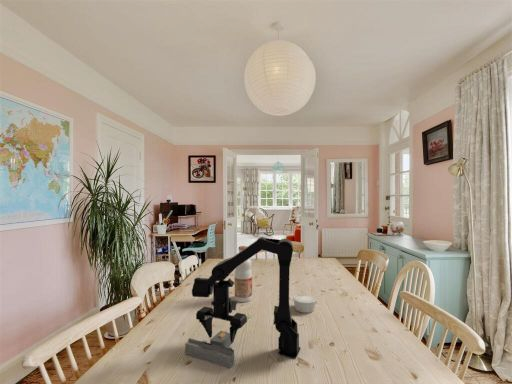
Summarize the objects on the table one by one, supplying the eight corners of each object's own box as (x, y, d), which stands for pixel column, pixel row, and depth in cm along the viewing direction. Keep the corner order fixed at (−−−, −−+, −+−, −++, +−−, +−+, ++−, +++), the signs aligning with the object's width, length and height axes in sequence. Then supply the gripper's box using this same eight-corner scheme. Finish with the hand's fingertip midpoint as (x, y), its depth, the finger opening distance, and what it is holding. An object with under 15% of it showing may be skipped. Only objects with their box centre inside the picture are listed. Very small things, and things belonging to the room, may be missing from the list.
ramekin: (302, 302, 137) (302, 292, 137) (320, 309, 129) (320, 298, 129) (288, 309, 130) (288, 298, 130) (307, 316, 122) (307, 305, 122)
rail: (239, 356, 91) (239, 343, 91) (230, 368, 85) (230, 354, 85) (196, 345, 98) (196, 332, 98) (185, 355, 92) (185, 341, 93)
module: (232, 344, 99) (232, 331, 99) (222, 354, 93) (221, 341, 93) (220, 341, 102) (220, 329, 102) (210, 350, 95) (210, 338, 95)
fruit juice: (231, 298, 143) (231, 246, 143) (246, 294, 148) (246, 244, 148) (240, 304, 135) (240, 249, 135) (255, 300, 140) (255, 247, 141)
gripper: (253, 293, 101) (253, 334, 101) (211, 287, 109) (211, 325, 109) (239, 304, 91) (240, 350, 91) (195, 296, 98) (195, 338, 98)
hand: (221, 339), depth 97 cm, fingers open, 9 cm apart
